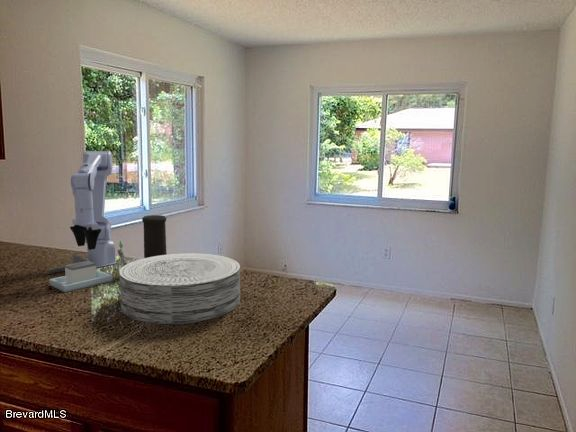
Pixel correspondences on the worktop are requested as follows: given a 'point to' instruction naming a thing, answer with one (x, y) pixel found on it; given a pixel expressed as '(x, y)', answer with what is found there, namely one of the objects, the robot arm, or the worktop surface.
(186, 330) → the worktop surface
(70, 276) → the block
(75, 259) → the bay
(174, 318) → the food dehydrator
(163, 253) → the container
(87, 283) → the tray
